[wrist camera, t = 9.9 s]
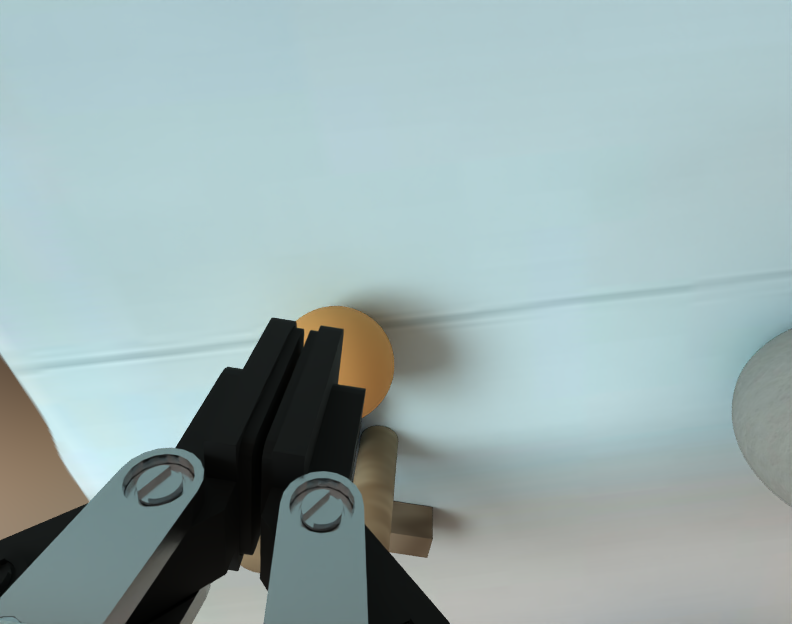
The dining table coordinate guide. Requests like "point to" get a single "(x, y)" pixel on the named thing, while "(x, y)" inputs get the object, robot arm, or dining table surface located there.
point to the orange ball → (357, 351)
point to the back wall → (411, 529)
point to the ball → (767, 415)
